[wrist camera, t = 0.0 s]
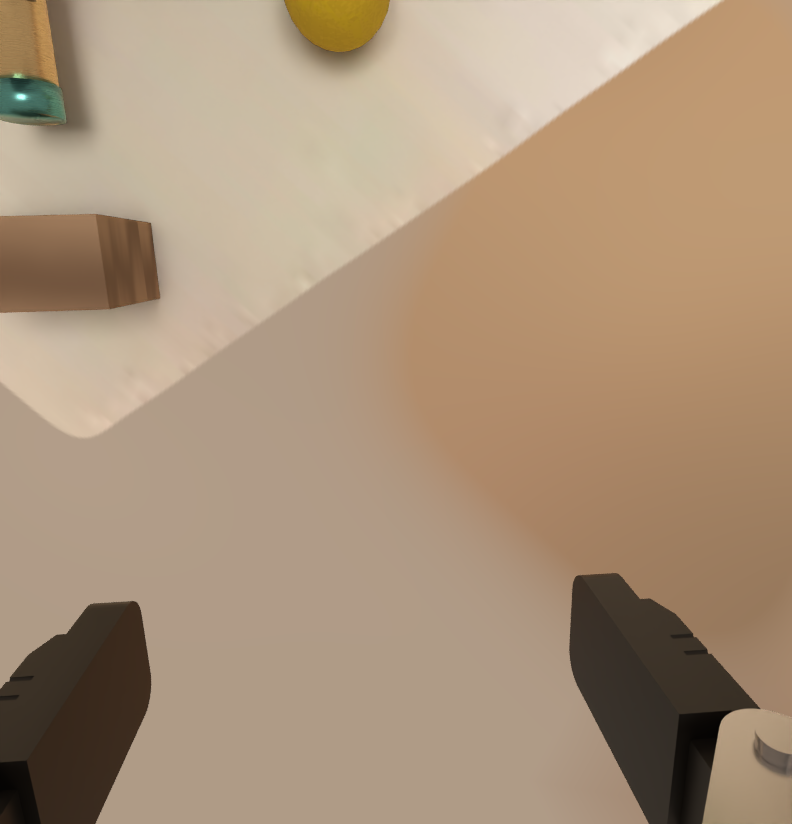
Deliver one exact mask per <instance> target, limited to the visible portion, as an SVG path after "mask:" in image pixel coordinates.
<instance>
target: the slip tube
mask: <svg viewBox="0 0 792 824" xmlns="http://www.w3.org/2000/svg"><path fill="white" fill-rule="evenodd" d="M0 120H2V121H6V122H11V123H16V124H24V125H37V126H51V125H61V124H64V123H66V122H67V120H66V113H65V107H64V100H63V94H62V89H61V88H60V87H59V82H58V76H57V69H56V63H55V56H54V50H53V43H52V37H51V30H50V24H49V17H48V11H47V4H46V0H0Z"/></svg>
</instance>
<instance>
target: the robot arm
mask: <svg viewBox="0 0 792 824" xmlns="http://www.w3.org/2000/svg"><path fill="white" fill-rule="evenodd" d="M569 651H570V661H571V667H572V671H573V675H574V678H575V681H576V683H577V686H578V687H579V689H580V691H581V693H582V695H583V697H584V699H585V701H586V703H587V705H588V707H589V709H590V711H591V713H592V714H593V717H594V718H595V720H596V722H597V724H598V726H599V728H600V730H601V732H602V734H603V736H604V738H605V740H606V742H607V744H608V745H609V747H610V749H611V751H612V753H613V755H614V757H615V759H616V761H617V763H618V765H619V767H620V769H621V770H622V773H623V774H624V776H625V778H626V780H627V782H628V784H629V786H630V788H631V790H632V792H633V794H634V796H635V798H636V800H637V801H638V803H639V805H640V807H641V809H642V811H643V813H644V815H645V817H646V819H647V821H648V823H649V824H792V718H791V717H788V716H785V715H783V714H779V713H776V712H773V711H768V710H762V709H760V708H759V707H758V706H757V704H755V702H754V701H753V700H752V699H751V698H750V697H749V696H748V694H746V692H745V691H744V690H743V689H742V688H741V687H740V686H739V684H738V683H737V682H736V681H735V680H734V679H733V678H732V677H731V675H730V674H729V673H728V672H727V671H726V670H725V669H724V668H723V666H721V664H720V663H719V662H718V661H717V660H716V659H715V658H714V656H713V655H712V654H708V652H707V649H706V647H705V646H704V645H703V644H702V643H701V642H700V641H699V640H698V639H697V638H696V637H693V633H692V632H691V631H690V630H689V629H688V627H687V626H686V625H684V623H683V622H682V621H681V620H680V618H679V617H678V616H677V615H676V614H675V613H673V612H671V611H670V610H668V609H666V608H664V607H663V606H661V605H660V604H658V603H656V602H655V601H653V600H651V599H639V597H638V596H637V595H636V594H635V593H634V591H633V590H632V589H631V588H630V587H629V585H628V584H627V583H626V582H625V581H624V579H623V578H622V577H621V576H620V575H619V574H617V573H611V574H594V575H579V576H576V577H575V579H574V582H573V589H572V608H571V627H570V649H569ZM150 693H151V673H150V666H149V660H148V653H147V647H146V640H145V634H144V628H143V621H142V615H141V610H140V607H139V605H138V604H137V602H134V601H130V602H113V603H96V604H90V605H89V606H88V607H87V608H86V609H85V610H84V612H83V613H82V614H81V616H80V617H79V618H78V620H77V621H76V622H75V623H74V625H73V626H72V627H71V629H70V630H69V631H68V633H67V634H62V635H56V636H54V637H53V638H51V639H50V640H49V641H47V642H46V643H44V644H43V645H42V646H40V647H39V648H37V649H36V650H35V651H33V652H32V653H30V654H29V655H28V656H27V657H26V658H25V660H24V661H23V662H22V663H21V665H20V666H19V667H18V668H17V669H16V671H15V672H14V673H13V674H12V676H11V677H10V681H9V682H6V683H5V684H4V685H3V687H2V688H1V689H0V824H95V823H96V821H97V819H98V816H99V814H100V812H101V810H102V808H103V806H104V803H105V801H106V799H107V797H108V795H109V792H110V790H111V788H112V786H113V784H114V782H115V779H116V777H117V775H118V773H119V771H120V768H121V766H122V764H123V762H124V760H125V757H126V755H127V753H128V751H129V749H130V747H131V744H132V742H133V740H134V738H135V736H136V734H137V731H138V729H139V727H140V725H141V722H142V720H143V718H144V716H145V714H146V711H147V708H148V704H149V699H150Z"/></svg>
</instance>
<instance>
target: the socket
mask: <svg viewBox="0 0 792 824" xmlns="http://www.w3.org/2000/svg"><path fill="white" fill-rule="evenodd" d="M159 298H160V294H159V286H158V278H157V270H156V262H155V254H154V246H153V238H152V230H151V223H147V222H141V221H135V220H129V219H122V218H116V217H110V216H104V215H98V214H80V215H39V216H0V313H6V312H36V311H66V310H97V309H112V308H117V307H121V306H126V305H131V304H135V303H140V302H145V301H149V300H154V299H159Z"/></svg>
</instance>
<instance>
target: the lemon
mask: <svg viewBox="0 0 792 824" xmlns="http://www.w3.org/2000/svg"><path fill="white" fill-rule="evenodd" d="M284 1H285V5H286V7H287V9H288V12H289V14H290V16H291V19H292V21H293V22H294V24H295V25H296V26H297V28H298V29H299V30H300V32H301V33H302V34H303V35H304V36H305V37H306V38H307V39H308V40H310V41H311V42H312V43H313V44H315V45H317V46H319V47H321V48H323V49H325V50H330V51H335V52H344V51H351V50H353V49H356V48H358V47H361V46H362V45H364V44H365V43H366V42H368V41H369V40H370V39H372V37H373V36H374V35H375V33H376V32H377V31H378V30H379V28H380V27H381V25H382V23H383V21H384V18H385V16H386V14H387V11H388V7H389V2H390V0H284Z"/></svg>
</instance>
